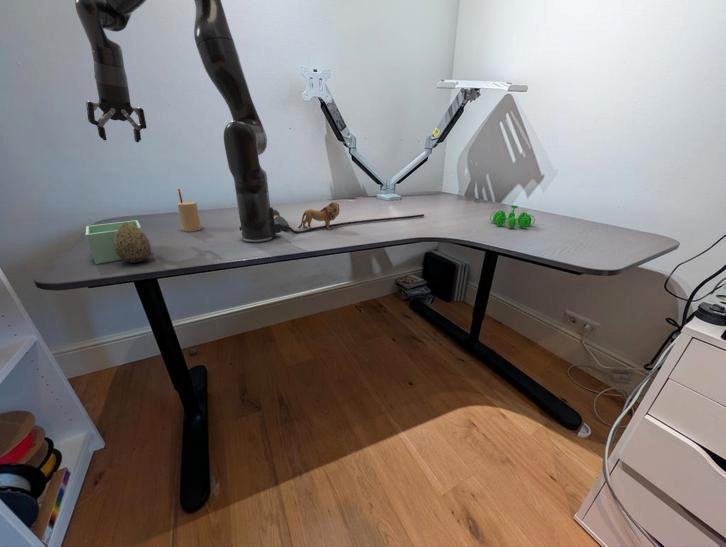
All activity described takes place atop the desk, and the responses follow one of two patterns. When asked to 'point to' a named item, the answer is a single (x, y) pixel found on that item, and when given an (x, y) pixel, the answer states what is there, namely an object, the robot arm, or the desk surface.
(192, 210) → the paper cup
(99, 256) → the bin
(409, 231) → the desk surface
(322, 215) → the lion figurine
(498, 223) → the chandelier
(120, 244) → the decorative egg
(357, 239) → the desk surface
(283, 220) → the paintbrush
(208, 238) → the desk surface
